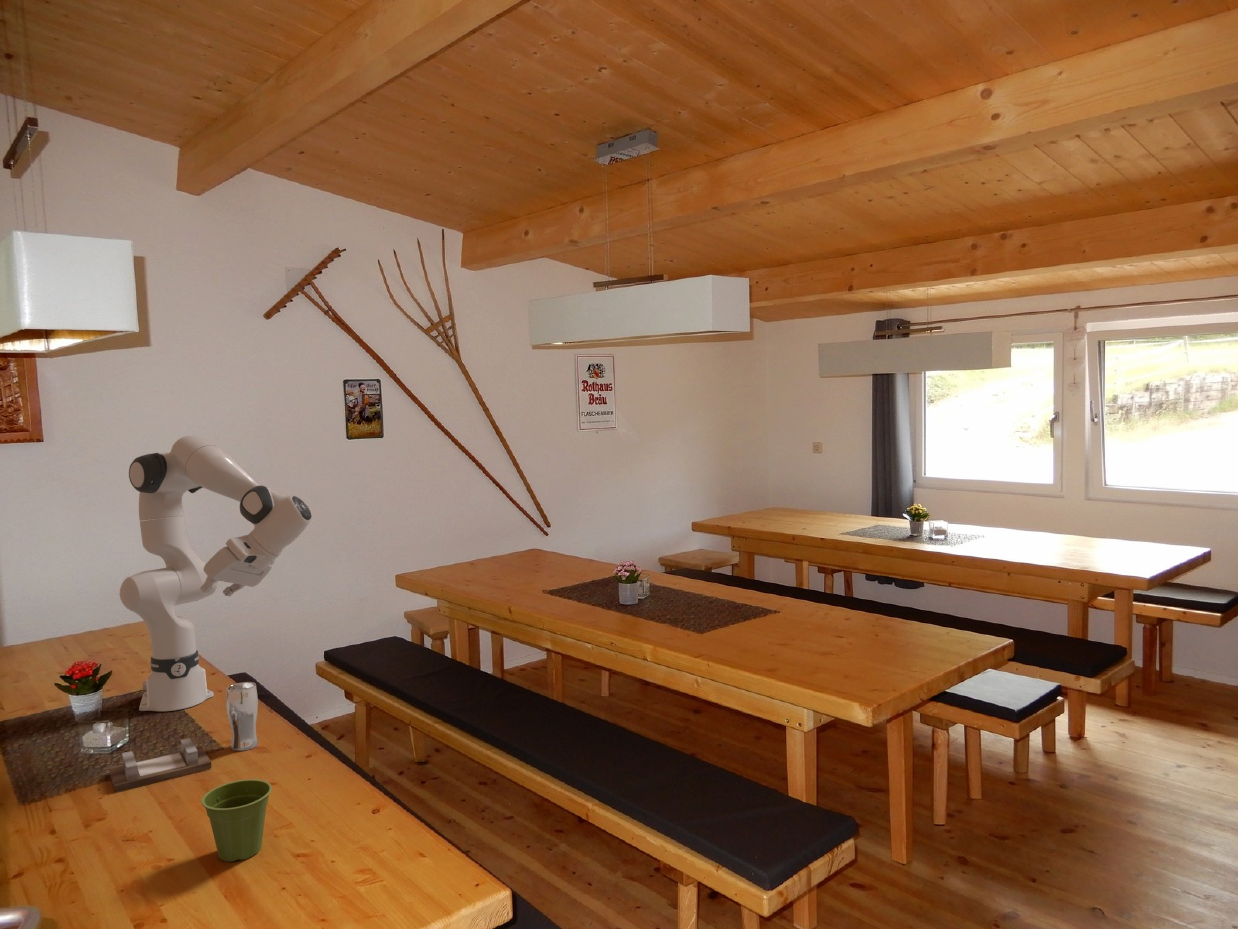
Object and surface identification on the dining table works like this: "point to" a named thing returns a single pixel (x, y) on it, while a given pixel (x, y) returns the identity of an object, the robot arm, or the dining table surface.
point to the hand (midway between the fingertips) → (214, 592)
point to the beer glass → (242, 715)
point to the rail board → (158, 767)
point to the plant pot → (238, 817)
